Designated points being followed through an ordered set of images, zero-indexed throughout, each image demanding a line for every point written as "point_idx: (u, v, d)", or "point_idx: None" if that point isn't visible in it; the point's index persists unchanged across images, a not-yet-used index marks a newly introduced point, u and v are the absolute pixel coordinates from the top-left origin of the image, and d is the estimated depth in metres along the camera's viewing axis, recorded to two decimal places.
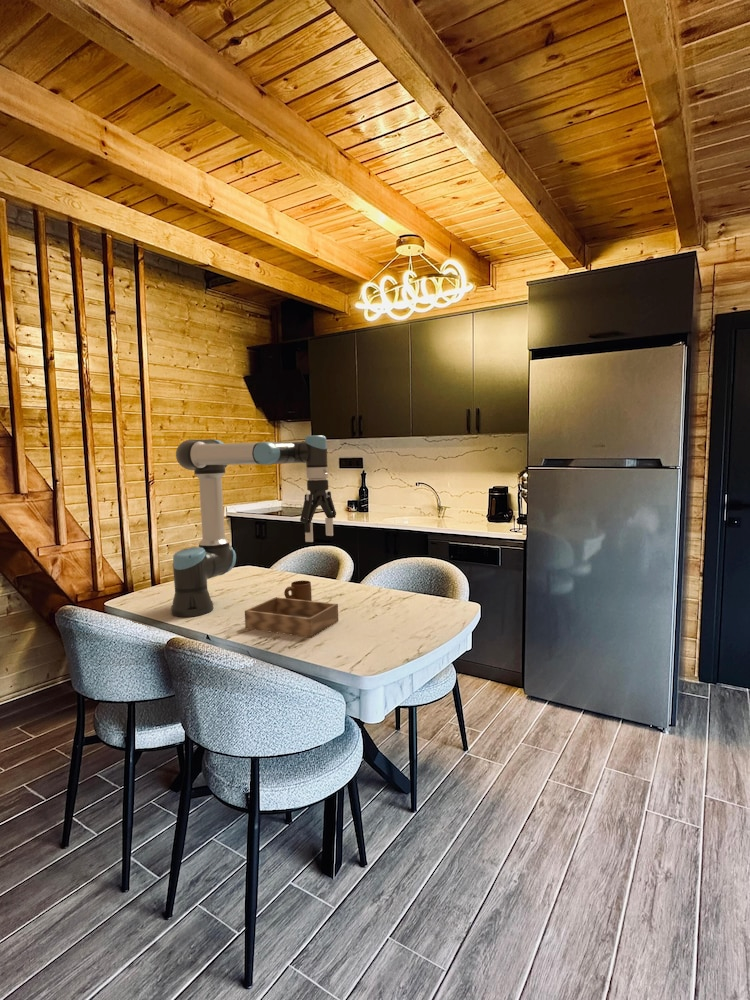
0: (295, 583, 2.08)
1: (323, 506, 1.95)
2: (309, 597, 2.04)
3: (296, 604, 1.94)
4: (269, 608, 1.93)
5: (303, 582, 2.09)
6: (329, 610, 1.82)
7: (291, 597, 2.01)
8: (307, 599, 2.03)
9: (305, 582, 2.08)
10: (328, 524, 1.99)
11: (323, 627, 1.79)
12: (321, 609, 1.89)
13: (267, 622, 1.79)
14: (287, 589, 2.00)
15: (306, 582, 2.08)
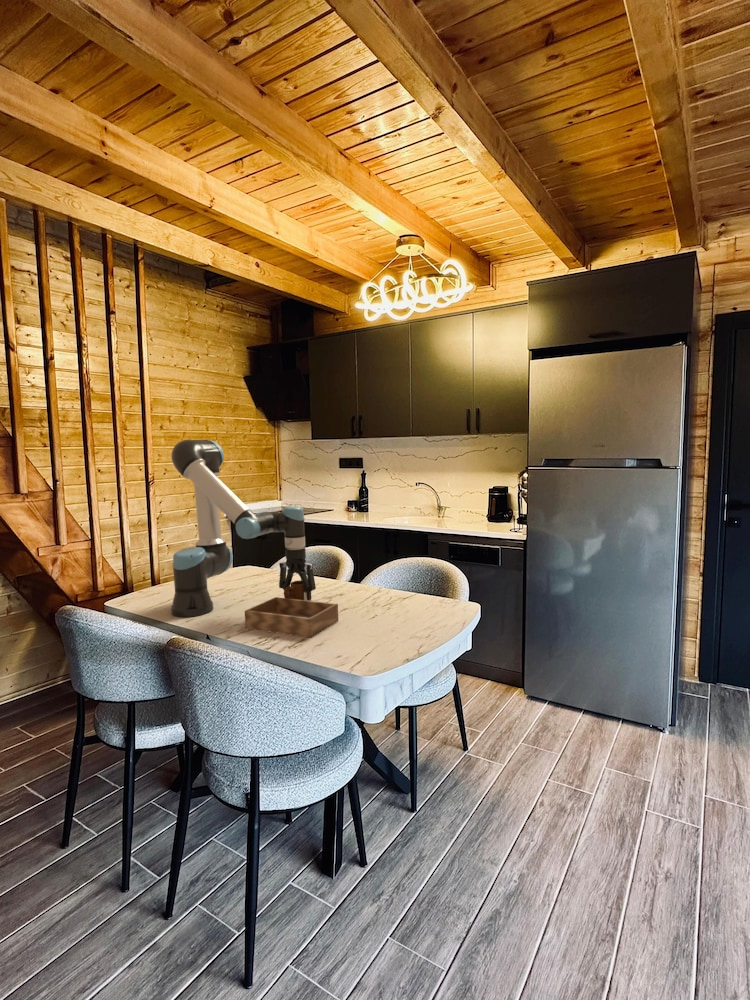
0: (294, 583, 2.08)
1: None
2: None
3: (296, 604, 1.94)
4: (269, 608, 1.93)
5: None
6: (329, 610, 1.82)
7: (290, 597, 2.01)
8: None
9: None
10: None
11: (323, 627, 1.79)
12: (321, 609, 1.89)
13: (267, 622, 1.79)
14: (286, 589, 2.00)
15: None
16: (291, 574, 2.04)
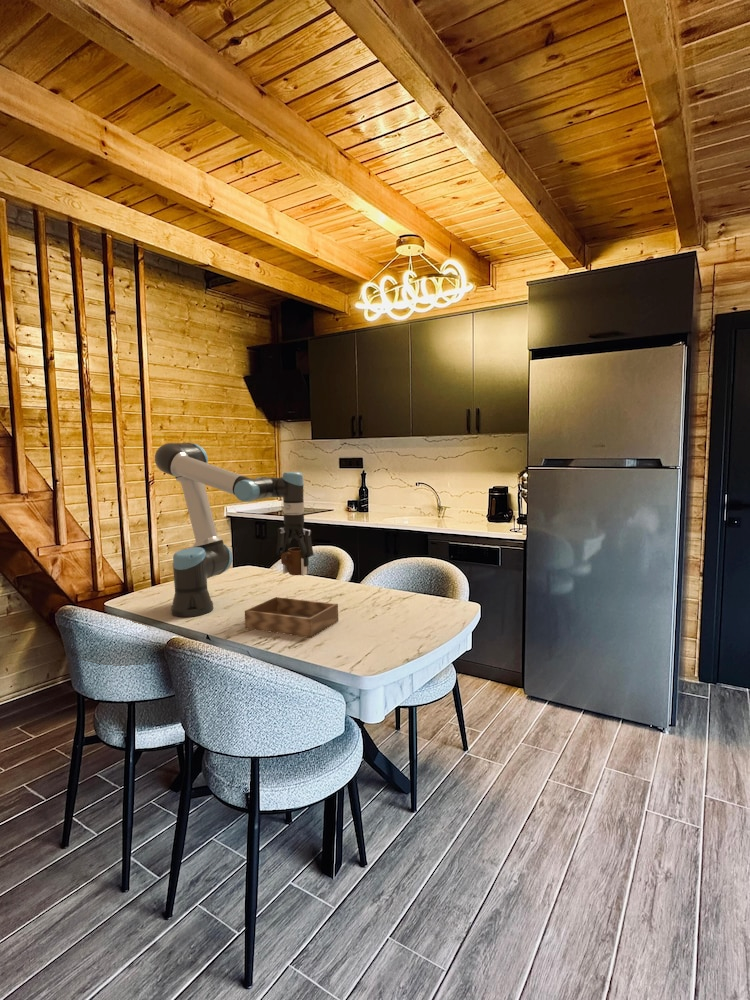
0: (292, 550, 2.07)
1: None
2: None
3: (296, 604, 1.94)
4: (269, 608, 1.93)
5: None
6: (329, 610, 1.82)
7: (288, 563, 2.00)
8: None
9: None
10: None
11: (323, 627, 1.79)
12: (321, 609, 1.89)
13: (267, 622, 1.79)
14: (284, 554, 1.99)
15: None
16: (289, 540, 2.03)
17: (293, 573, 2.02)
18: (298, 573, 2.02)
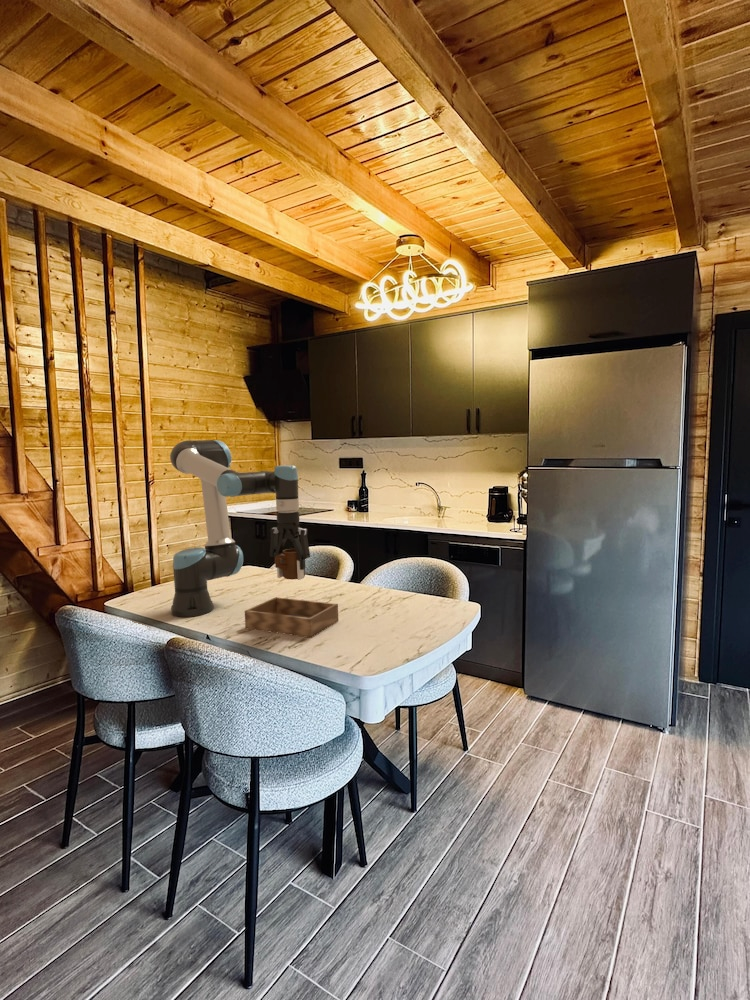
0: (287, 551, 1.87)
1: None
2: None
3: (296, 604, 1.94)
4: (269, 608, 1.93)
5: None
6: (329, 610, 1.82)
7: (282, 566, 1.80)
8: None
9: None
10: None
11: (323, 627, 1.79)
12: (321, 609, 1.89)
13: (267, 622, 1.79)
14: (278, 556, 1.79)
15: None
16: (283, 541, 1.83)
17: (288, 577, 1.82)
18: (294, 577, 1.82)
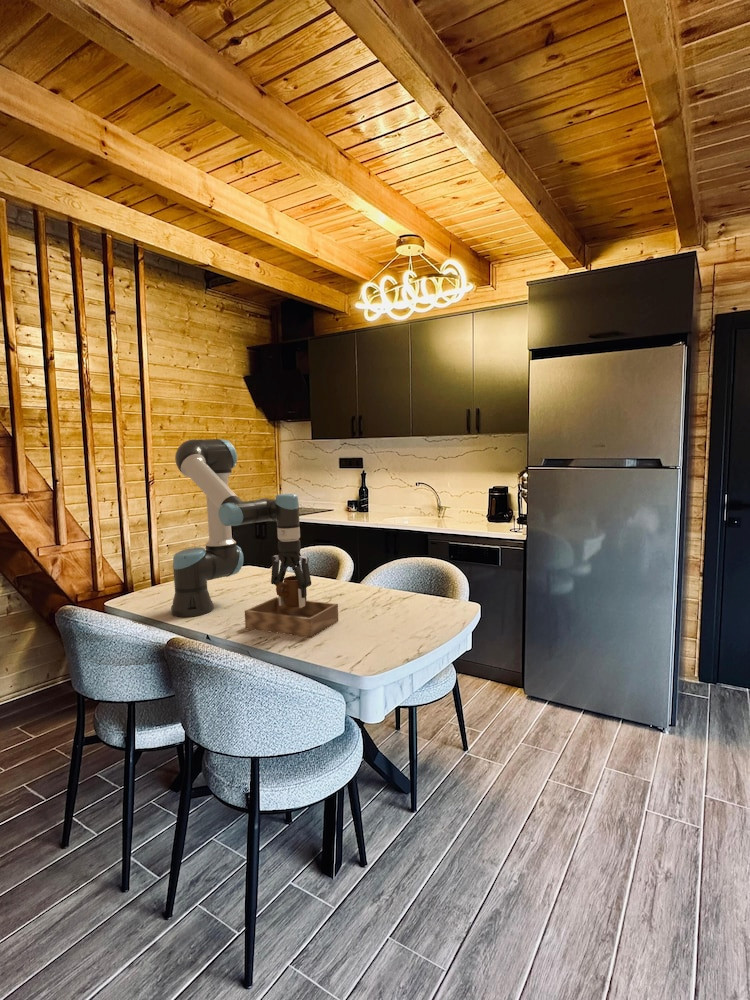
0: (288, 578, 1.88)
1: None
2: None
3: None
4: (269, 608, 1.93)
5: None
6: (329, 610, 1.82)
7: (284, 594, 1.81)
8: None
9: None
10: None
11: (323, 627, 1.79)
12: (321, 609, 1.89)
13: (267, 622, 1.79)
14: (279, 585, 1.80)
15: None
16: (284, 569, 1.84)
17: (290, 605, 1.83)
18: (295, 605, 1.83)
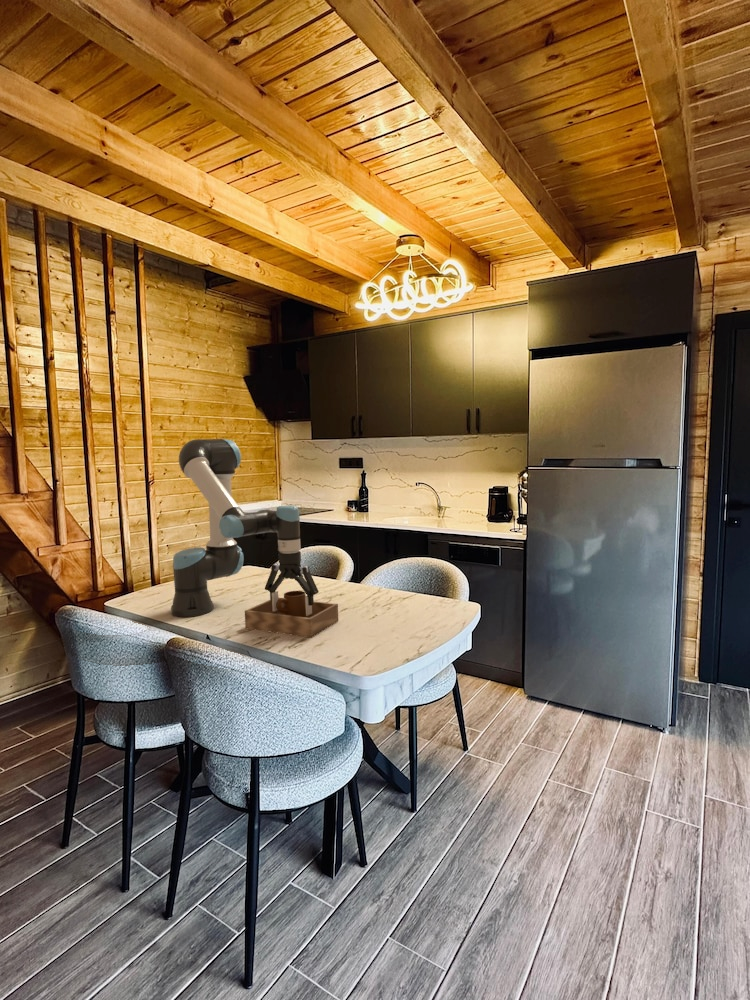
0: (288, 594, 1.89)
1: None
2: (303, 609, 1.85)
3: None
4: (269, 608, 1.93)
5: (297, 592, 1.90)
6: (329, 610, 1.82)
7: (283, 610, 1.82)
8: (301, 612, 1.84)
9: (299, 592, 1.90)
10: None
11: (323, 627, 1.79)
12: (321, 609, 1.89)
13: (267, 622, 1.79)
14: (279, 601, 1.81)
15: (300, 593, 1.89)
16: (282, 578, 1.85)
17: None
18: None
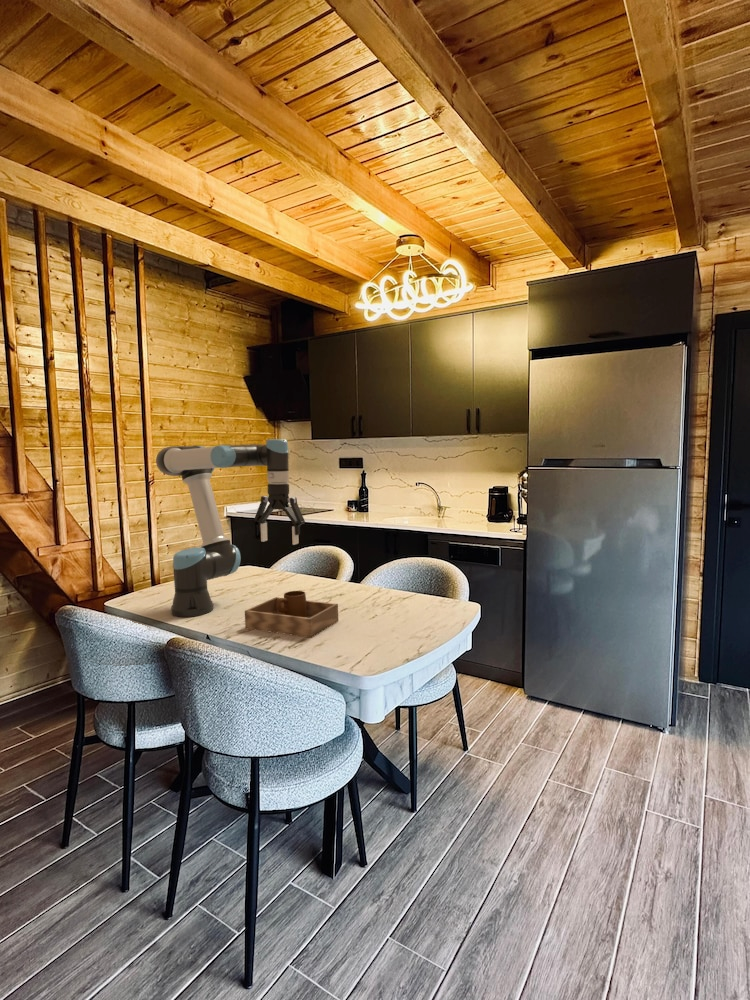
0: (288, 594, 1.89)
1: None
2: (303, 609, 1.85)
3: None
4: (269, 608, 1.93)
5: (297, 592, 1.90)
6: (329, 610, 1.82)
7: (283, 609, 1.82)
8: (301, 612, 1.84)
9: (299, 593, 1.90)
10: None
11: (323, 627, 1.79)
12: (321, 609, 1.89)
13: (267, 622, 1.79)
14: (279, 601, 1.81)
15: (300, 593, 1.89)
16: (270, 510, 1.92)
17: None
18: None
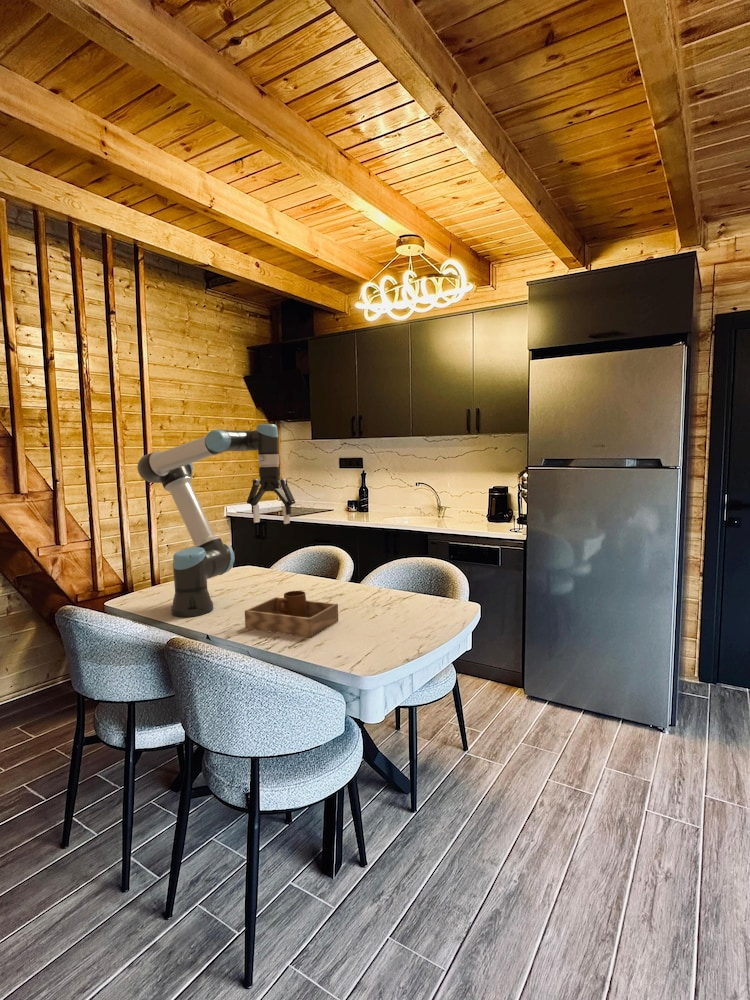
0: (288, 594, 1.89)
1: None
2: (303, 609, 1.85)
3: None
4: (269, 608, 1.93)
5: (297, 592, 1.90)
6: (329, 610, 1.82)
7: (283, 609, 1.82)
8: (301, 612, 1.84)
9: (299, 593, 1.90)
10: None
11: (323, 627, 1.79)
12: (321, 609, 1.89)
13: (267, 622, 1.79)
14: (279, 601, 1.81)
15: (300, 593, 1.89)
16: (262, 492, 2.02)
17: None
18: None
